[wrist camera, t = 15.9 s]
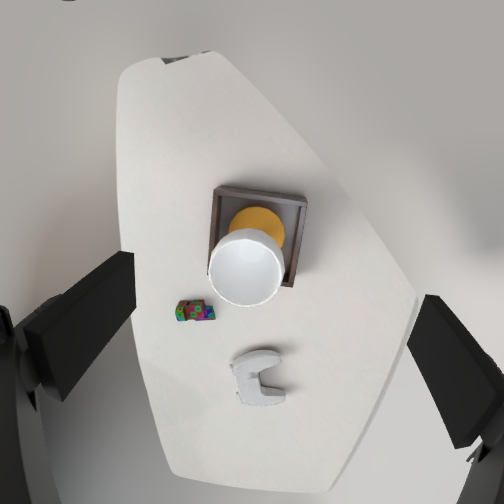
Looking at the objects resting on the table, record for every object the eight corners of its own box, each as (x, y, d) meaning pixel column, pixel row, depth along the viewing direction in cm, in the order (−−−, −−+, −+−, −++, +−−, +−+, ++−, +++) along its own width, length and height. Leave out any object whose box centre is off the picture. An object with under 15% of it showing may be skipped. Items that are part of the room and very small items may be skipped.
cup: (228, 258, 52) (206, 306, 37) (228, 204, 49) (204, 232, 34) (283, 262, 51) (282, 312, 36) (286, 207, 48) (288, 237, 33)
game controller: (288, 406, 59) (240, 415, 58) (284, 392, 63) (238, 401, 62) (281, 354, 54) (226, 364, 53) (277, 340, 58) (225, 350, 57)
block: (185, 320, 57) (179, 330, 54) (179, 301, 56) (174, 310, 53) (215, 318, 56) (211, 328, 53) (210, 299, 55) (206, 308, 52)
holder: (219, 185, 48) (213, 189, 44) (305, 197, 48) (307, 202, 44) (212, 265, 53) (207, 275, 49) (292, 277, 52) (292, 287, 48)
